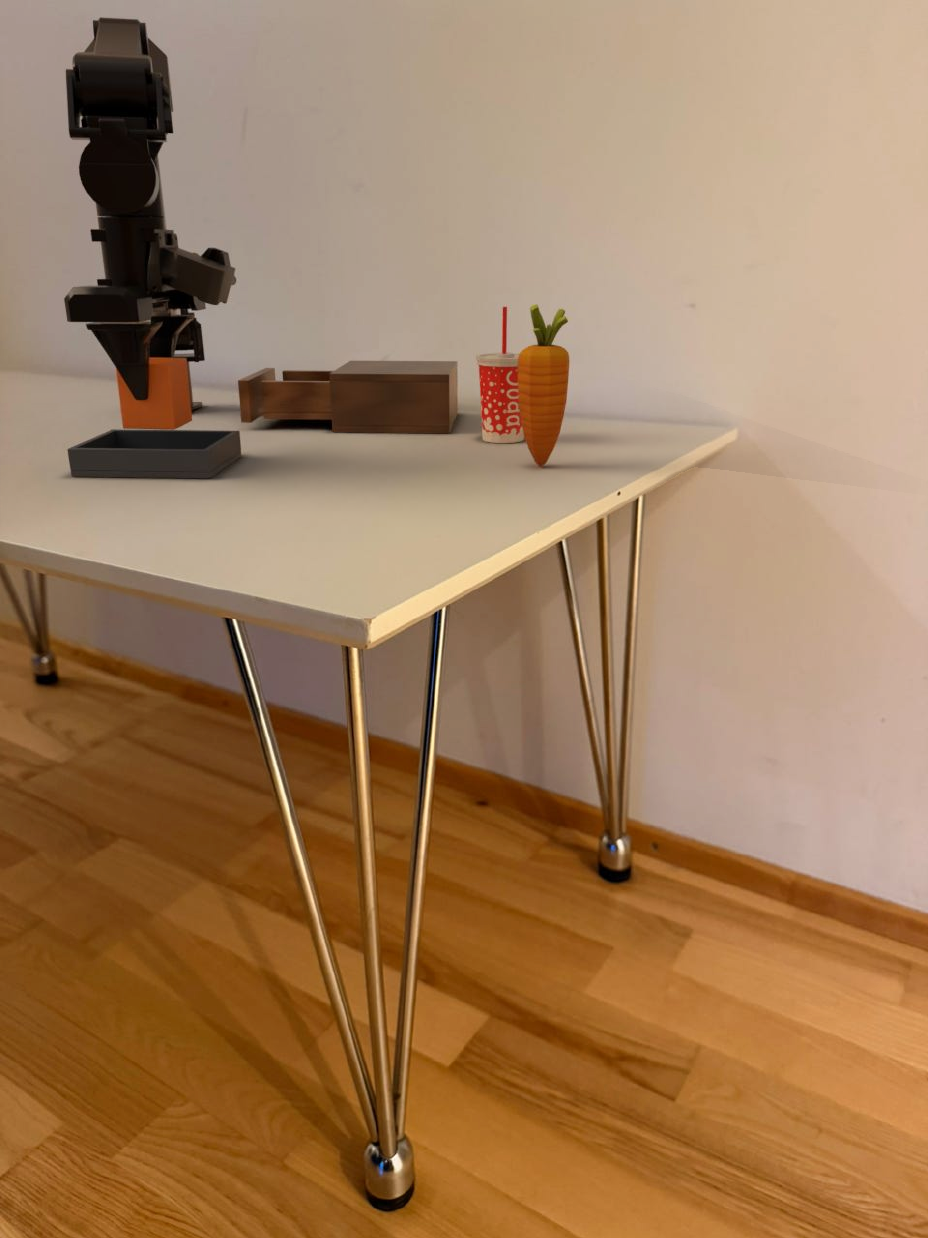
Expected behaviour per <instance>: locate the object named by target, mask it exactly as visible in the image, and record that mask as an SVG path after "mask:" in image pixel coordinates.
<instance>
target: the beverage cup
mask: <svg viewBox="0 0 928 1238" xmlns="http://www.w3.org/2000/svg"><path fill="white" fill-rule="evenodd" d="M501 323H502V325H501V326H502V327H501V329H502V334H501V343H502V344H501V352H494V353H493V352H492V353H480V354H477V355H476V356H475V359H476V365H478V375H479V376H478V379H479V394H480V395H479V396H480V415H481V434H482V441H484V442H488V443H492V444H513V443H519V442H523V441H524V440H525V437H524V433H523V428H522V422H521V416H520V409H519V399H518V357H519V354H520V353H514V352H507V347H508V346H507V342H508V341H507V340H508V339H507V337H508V336H507V335H508V306H502V321H501Z"/></svg>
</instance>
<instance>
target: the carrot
mask: <svg viewBox="0 0 928 1238" xmlns="http://www.w3.org/2000/svg"><path fill="white" fill-rule="evenodd" d="M529 312H530V317H531V324H532V331H533V334H534V336H535V338H536V342H537V343H536V344H531V345H528V346H526V347H524V348H523V349H522V350H521V351H520V352H519V353H518V354H519V357H518V399H519V409H520V416H521V422H522V428H523V433H524V440H525V442H526V446H527V448H528V450H529V451H528V452H529V453H530V455H531V457H532V459H533V461H534V463H535V464H536V465H537V466H538V467H539V468H542V467H543V466H545V464H546V463H547V462H548V461H549V459H550V456H551V454H552V452H553V451H554V449H555V447H556V444H557V441H558V439H559V436H560V433H561V429H562V424H563V420H564V416H565V412H566V411H565V410H566V406H567V400H568V399H567V398H568V389H569V376H570V372H569V371H570V353H569V351H568V350H567V349H566V348H565V347H563V346H561V345H557V344H553V342H554V340H555V338H556V336H557V334H558V332H559V331H560V330H561V328H562V327H563V326H564V325H566V324H567V323H568V322H569V320H568V318H567V317H566V316H565V314H566V310H565V309H563V308H559V309H558V310H557V311H556V313H555V315H554V317H553V320H552V323H551V324H550V323H549V324H547V325H546V323H545V320H544V318H543V315H542V314H541V311H540V307H539V305H538V304H532V305H531V306H530V307H529Z"/></svg>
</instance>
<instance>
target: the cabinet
mask: <svg viewBox="0 0 928 1238" xmlns="http://www.w3.org/2000/svg"><path fill="white" fill-rule="evenodd" d="M458 364H459V363H458V361H457V360H349V361H347V362H345V363H344V364H343V365H340V366H339V367H338V368H336V369H334V370H332V371H333V372H331V373H330V374H329V377H330V396H331V416H332V420H331V432H332V433H363V434H364V433H369V434H371V433H374V434H375V433H376V434H379V433H380V434H386V433H387V434H450V433H451V431H452V428H453V426H454V424H455V422H456V419H457V417H458V412H459V408H458V407H459V405H458V403H459V402H458V400H459V399H458V392H459V390H458V385H459V382H458V377H459V376H458V372H459V371H458Z"/></svg>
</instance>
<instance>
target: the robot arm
mask: <svg viewBox="0 0 928 1238" xmlns="http://www.w3.org/2000/svg"><path fill="white" fill-rule="evenodd" d="M92 29H93V30H92V31H93V39H92V40H91V42H90V43H89V45H87V47H86V48H85V50H84V51H80V52H79V51H78V52H76V53H75V54H74V55H73V56H72V68H65V86H66V87H65V89H66V105H67V106H66V108H67V121H68V123H67V124H68V125H67V127H68V135H69V138H70V139H71V140H73V141H89V143H88V144H86V146H84V149H83V151H82V153H81V155H80V158H79V164H78V175H79V178H80V182H81V185H82V187H83V189H84V190H85V193H86V194H87V195H88V197H90V199H91V200H92V202H94V203H95V208H96V209H95V210H96V216H97V225H98V228H90V237H91V242H92V243H93V242H94V243H95V242H97V243H100V248H101V255H102V256H101V257H102V263H103V264H102V265H103V272H104V278H97V279H96V282H97V285H80V286H72V287H71V289H70V290H69V291H68V293H66V295H65V297H64V298H63V302H64V307H65V314H66V321H67V323H85V327H86V329H87V330H88V331H91V332H92V334H93V336H94V337H95V338H96V340H97V341H98V343H99V344H100V345H101V347H102V349H103V350H104V352H105V353H106V354H107V356H108V357H109V359H110V360H111V363H112V364H113V365H114V367H115V370H116V369H117V370H118V372H119V373H120V375H121V377H122V378H123V380H124V382H125V383H126V385H127V387H128V388H129V390H130V391H131V393H132V395H133V396H134V398H135V399H136V400H147V399H148V392H149V357H155V358H186V359H187V370H188V380H189V391H190V402H191V412H193V411H194V410H196V409H198V408H200V407H202V406H203V402H202V401H194V398H193V395H194V394H193V386H192V377H191V368H190V367H191V365H190V362H193V363H200V362H204V361H205V360H206V359H205V349H204V338H203V330H202V329H203V328H202V323H200V322H199V321H198V320H197V319H198V318H197V317H196V316H195V315H196V314H195V312H196V311H197V312H199V311H203V310H206V309H207V307H206V304H208V305H212V306H218V305H219V304H220V303H222V304H227V303H228V301H229V297H230V291H231V288H232V286H234V285H236V283H237V277H236V276H235V273H236V267H233V266H232V265H231V260H230V259H231V258H230V254H229V252H228V251H224V250H222V249H220V248H217V247H207V248H206V250H204V252H203V253H202V254H201V255H200V254H199V253H198V252H191V251H188V250H185V249H183V248H180V247H179V242H178V241H179V240H178V235H177V233H175V232H174V229H167V220H166V213H165V204H164V203H165V201H164V195H163V185H162V177H161V168H160V161H159V160H160V159H159V153H160V151H161V149H162V147H163V144H164V143H168V138H167V137H168V134H174V125H173V124H174V123H173V112H174V105H173V104H174V103H173V93H172V84H171V83H172V82H171V75H170V68H169V67H170V65H169V59H168V55H167V54H166V53H165V52H164V51H163V50H162V49H161V48H160V47H159V46H157V45H156V44H155V42H153V40H152V39H150V38H149V37H148V29H147V24H146V22H141V21H140V20H139V19H138V18H137V19H136V18H122V17H121V18H119V17H99V18H98V19H92ZM189 310H191V311H192V312H191V311H189ZM194 311H195V312H194ZM176 351H177V352H179V351H180V352H181V351H193V353H192V352H191V353H189V352H188V353H176Z"/></svg>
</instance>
